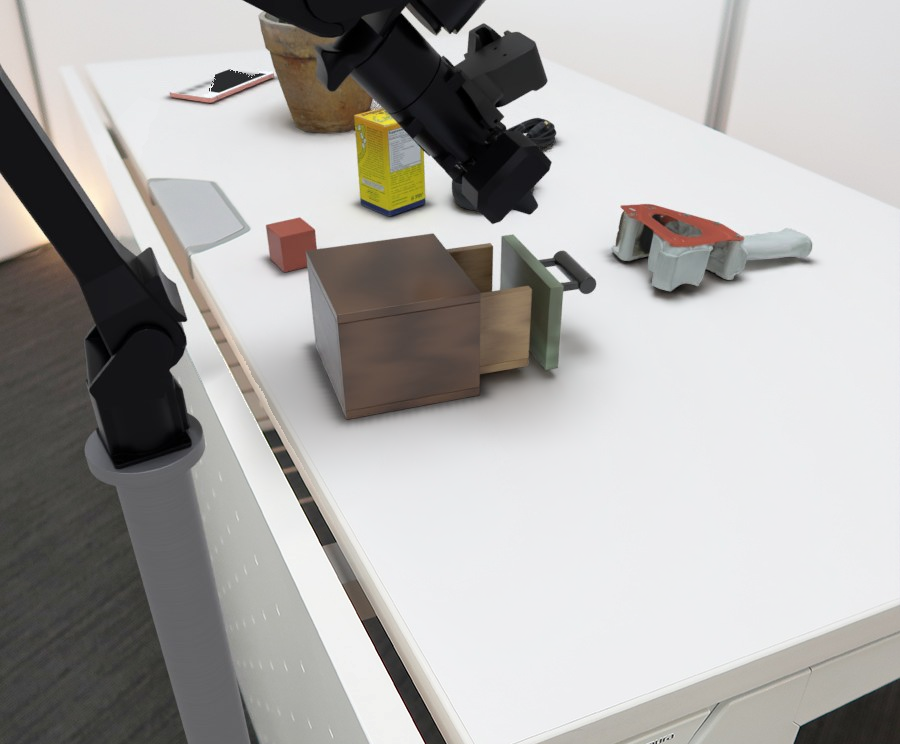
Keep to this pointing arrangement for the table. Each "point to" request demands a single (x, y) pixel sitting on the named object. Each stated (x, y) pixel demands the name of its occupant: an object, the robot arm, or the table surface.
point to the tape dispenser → (696, 245)
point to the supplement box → (388, 164)
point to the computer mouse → (536, 132)
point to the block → (290, 243)
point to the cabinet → (395, 324)
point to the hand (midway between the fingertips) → (532, 209)
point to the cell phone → (228, 85)
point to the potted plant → (310, 80)
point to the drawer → (520, 302)
